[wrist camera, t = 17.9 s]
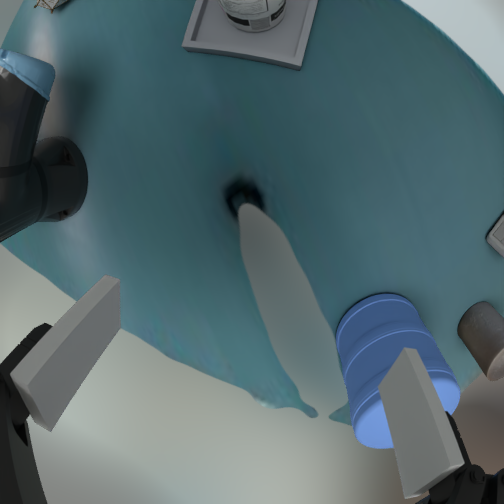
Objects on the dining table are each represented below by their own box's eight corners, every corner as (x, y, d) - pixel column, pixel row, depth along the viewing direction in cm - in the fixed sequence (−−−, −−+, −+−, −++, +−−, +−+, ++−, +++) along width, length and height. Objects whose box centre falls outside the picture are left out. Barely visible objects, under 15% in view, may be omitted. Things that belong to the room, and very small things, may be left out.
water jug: (337, 295, 47) (374, 445, 21) (422, 287, 45) (501, 408, 19) (332, 363, 52) (349, 496, 27) (407, 354, 50) (452, 471, 25)
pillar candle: (462, 346, 49) (491, 393, 35) (452, 320, 47) (487, 369, 33) (494, 320, 46) (528, 362, 32) (488, 291, 44) (528, 333, 30)
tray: (188, 51, 34) (181, 46, 31) (216, -32, 28) (212, -41, 25) (299, 70, 34) (300, 66, 31) (321, -16, 28) (324, -25, 25)
